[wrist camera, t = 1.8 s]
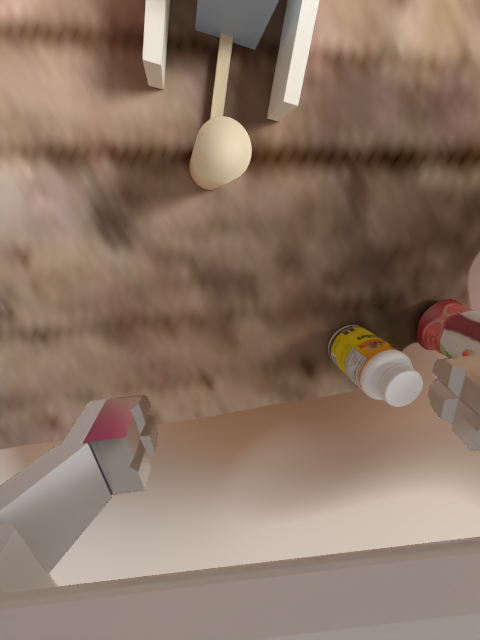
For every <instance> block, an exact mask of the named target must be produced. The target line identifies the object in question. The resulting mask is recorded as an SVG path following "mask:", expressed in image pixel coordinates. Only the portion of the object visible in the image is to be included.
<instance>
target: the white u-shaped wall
mask: <svg viewBox="0 0 480 640" xmlns="http://www.w3.org/2000/svg"><path fill="white" fill-rule="evenodd" d="M318 4H319V0H287V5H286V11H285V16H284V22H283V28H282V34H281V39H280V45H279V51H278V57H277V62H276V68H275V74H274V80H273V85H272V91H271V97H270V103H269V108H268V114H267V119H271V120H274V121H278V122H280V121H281V120H282V119H283V118H284V117H286V116H287V115H288V114H289V113H290V112H291V111H293V110H294V109H295V108H296V107H297V106H298V103H299V98H300V93H301V88H302V83H303V78H304V73H305V69H306V64H307V59H308V54H309V49H310V44H311V39H312V34H313V29H314V24H315V19H316V14H317V9H318ZM169 13H170V0H146V5H145V23H144V42H143V64H144V68H145V72H146V77H147V81H148V86H152V87H156V88H159V89H163V90H164V79H165V66H166V52H167V39H168V26H169Z"/></svg>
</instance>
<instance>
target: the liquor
mask: <svg viewBox="0 0 480 640" xmlns="http://www.w3.org/2000/svg"><path fill="white" fill-rule="evenodd" d="M417 339H418V342H419V344H420V345H421V346H422V347H423V348H425V349H427V350H436V351H438V352H439V353H441V354H443V355H445V356H446V357H448V358H454V357H462V356H470V355H474V354H480V312H477V311H474V310H471V309H468V308H465V307H463V306H462V305H461V304H460V303H459V302H458V301H456V300H452V299H447V300H442V301H440V302H437V303H436V304H434V305H433V306H431V307H430V308H429V309H428V310H427V311H426V312H424V314H423V315H422V316H421V318H420V320H419V323H418V327H417Z"/></svg>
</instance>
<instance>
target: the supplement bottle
mask: <svg viewBox="0 0 480 640" xmlns="http://www.w3.org/2000/svg"><path fill="white" fill-rule="evenodd" d="M328 353H329V356H330V358H331V360H332V361H333V362H334V363H335V364H336V365H337V366H338V367H339V368H340V369H341V370H342V371H343V372H344V373H345V374H346V375H347V376H348V377H349V378H350V379H351V380H352V381H353V382H354V383H355V384H356V385H357V386H358V387H359V388H360V389H361V390H363V391H364V392H365V393H366V394H367V395H368V396H369V397H371V398H374V399H377V400H385V401H386V402H387V403H389V404H390V405H392V406H395V407H401V406H405V405H407V404H409V403H411V402H412V401H413V400H414V399H415V398H416V397H417V396H418V395H419V393H420V392H421V389H422V386H423V380H422V377H421V375H420V374H419V373H418V372H416V371H415V370H414V369H413V366H412V362H411V360H410V359H409V357H407V355H405V354H404V353H403V352H401V351H400V350H398V349H396V348H395V347H393V346H392V345H390V344H388V343H387V342H385V341H384V340H382V339H381V338H379V337H377V336H376V335H374V334H373V333H371V332H369V331H368V330H366V329H365V328H363V327H361V326H358V325H348V326H345V327H343V328H341V329H339V330H338V331H337V332H336V333H335V334H334V335H333V336H332V338H331V340H330V342H329V346H328Z"/></svg>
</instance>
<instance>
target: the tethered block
mask: <svg viewBox="0 0 480 640" xmlns="http://www.w3.org/2000/svg"><path fill="white" fill-rule="evenodd" d="M278 2H279V0H198V2H197V12H196V22H195V30H197V31H200V32H203V33H206V34H209V35H211V36H214V37H217V38H220V39H219V47H218V55H217V63H216V72H215V80H214V88H213V97H212V105H211V113H210V120H208V121H207V122H206V123H205V124H204V125H203V126H202V127H201V129H200V130H199V132H198V134H197V137H196V141H195V145H194V148H193V152H192V156H191V160H190V166H189V167H190V174H191V176H192V178H193V180H194V182H195V183H196V184H197V185H198V186H200V187H201V188H203V189H207V190H214V189H217V188H219V187H221V186H223V185H225V184H227V183H229V182H231V181H232V180H234V179H236V178H238V177H239V176H241V175H242V174H243V173H244V172H245V170H246V169H247V167H248V165H249V162H250V159H251V153H252V148H251V142H250V138H249V136H248V134H247V132H246V130H245V129H244V127H243V126H242V125H241V124H240V123H239V122H237V121H236V120H234V119H232V118H229V117H225V116H223V111H224V103H225V96H226V88H227V81H228V73H229V66H230V58H231V51H232V43H235V44H238V45H241V46H244V47H247V48H250V49H253V50H255V49H256V47H257V45H258V43H259V41H260V39H261V37H262V34H263V32H264V30H265V28H266V26H267V24H268V22H269V20H270V18H271V16H272V14H273V12H274V10H275V8H276V6H277V4H278Z"/></svg>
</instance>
